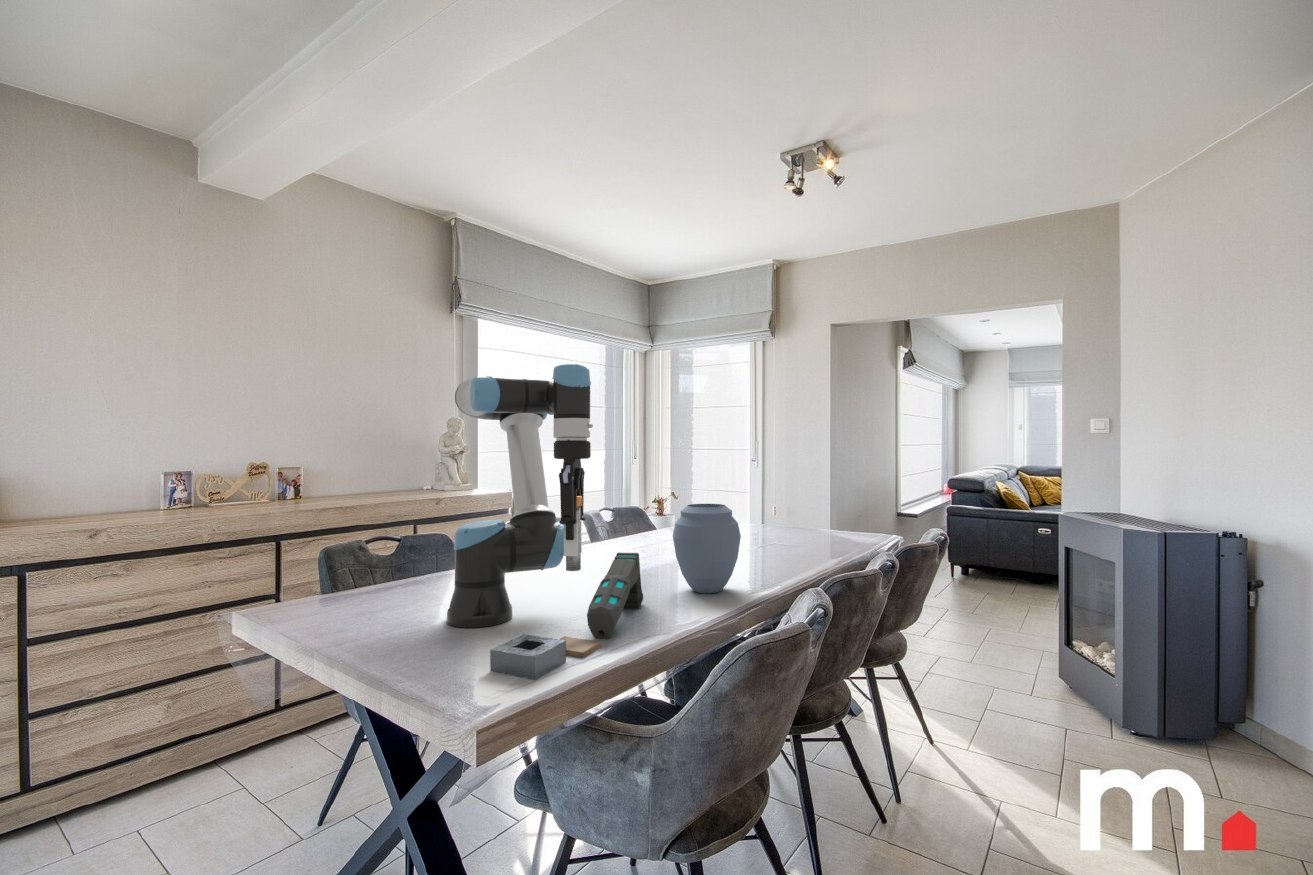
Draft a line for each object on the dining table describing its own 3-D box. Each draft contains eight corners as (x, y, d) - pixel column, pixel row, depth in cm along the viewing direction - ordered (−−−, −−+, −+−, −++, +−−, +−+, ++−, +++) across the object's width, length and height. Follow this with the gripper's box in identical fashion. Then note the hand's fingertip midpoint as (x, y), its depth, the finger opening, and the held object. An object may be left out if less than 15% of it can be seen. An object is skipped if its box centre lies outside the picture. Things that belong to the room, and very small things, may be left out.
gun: (645, 597, 157) (640, 545, 153) (619, 670, 130) (613, 611, 125) (621, 596, 159) (616, 545, 154) (591, 669, 131) (583, 610, 127)
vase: (744, 584, 178) (743, 502, 178) (738, 600, 159) (737, 509, 159) (680, 581, 182) (679, 501, 183) (666, 597, 163) (665, 508, 164)
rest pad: (545, 651, 120) (545, 646, 120) (564, 641, 127) (564, 636, 127) (583, 657, 117) (583, 652, 117) (601, 646, 123) (601, 641, 123)
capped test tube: (580, 571, 120) (580, 497, 120) (562, 571, 120) (561, 497, 120) (584, 567, 124) (583, 495, 124) (566, 567, 124) (565, 495, 124)
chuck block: (490, 671, 110) (490, 649, 110) (523, 654, 119) (523, 634, 119) (535, 679, 106) (535, 657, 106) (566, 661, 115) (566, 640, 115)
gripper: (582, 438, 114) (583, 561, 114) (597, 440, 130) (597, 547, 130) (543, 439, 115) (544, 561, 114) (563, 440, 131) (564, 547, 130)
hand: (572, 553), depth 122 cm, fingers closed on capped test tube, 3 cm apart
